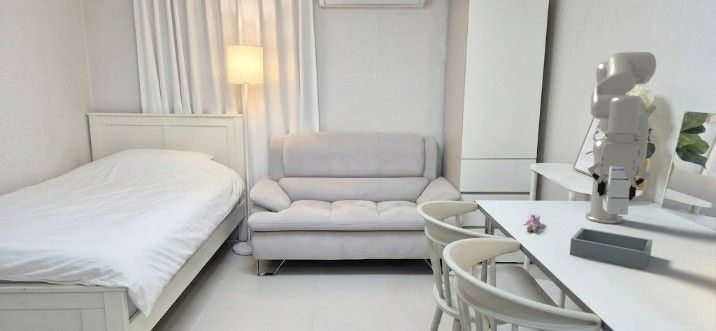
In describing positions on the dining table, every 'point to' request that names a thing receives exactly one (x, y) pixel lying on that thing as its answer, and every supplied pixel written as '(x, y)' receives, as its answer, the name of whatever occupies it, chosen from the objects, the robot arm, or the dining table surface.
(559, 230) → the dining table surface
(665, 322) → the dining table surface
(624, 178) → the syrup box
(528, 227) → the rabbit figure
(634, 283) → the dining table surface
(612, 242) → the crate
